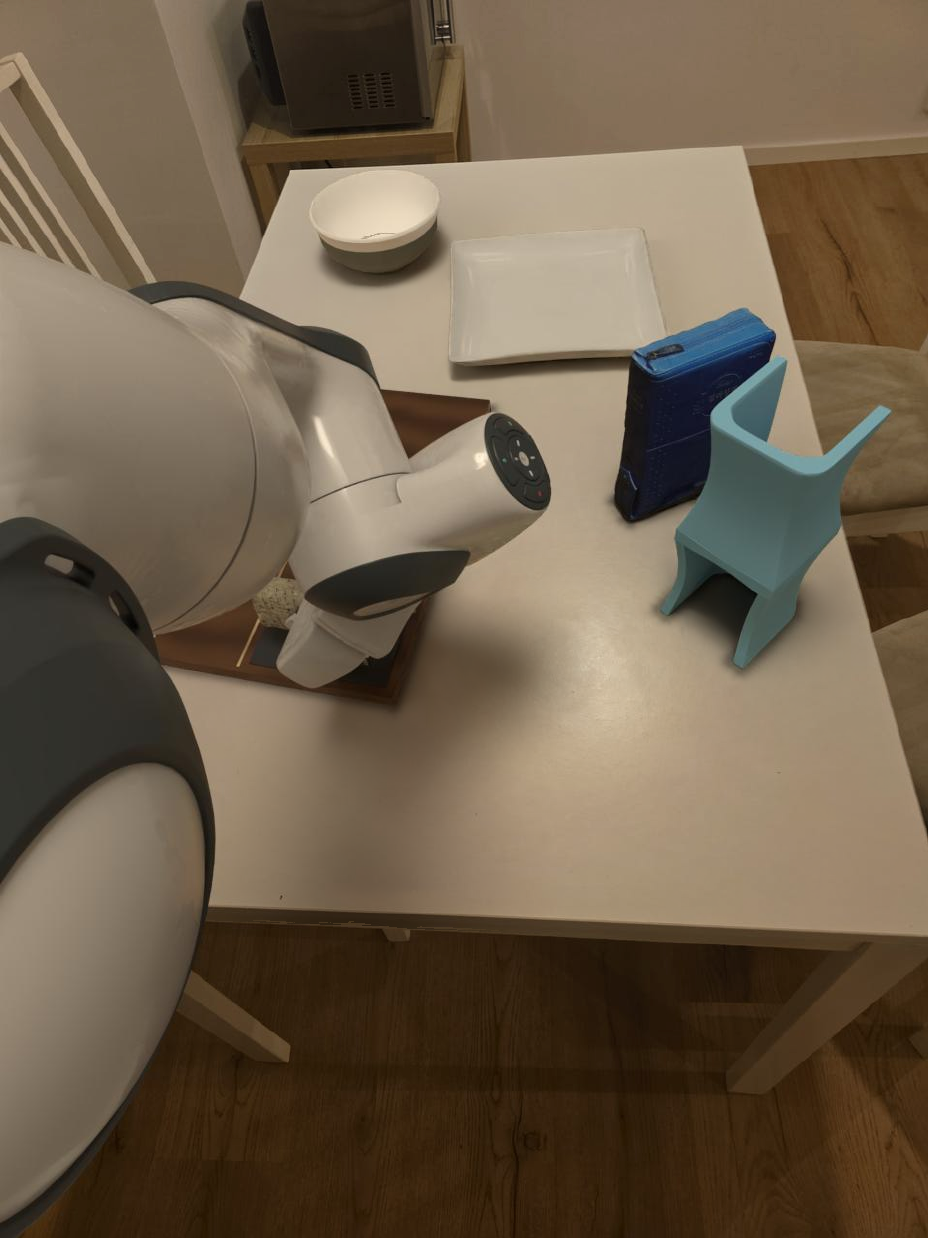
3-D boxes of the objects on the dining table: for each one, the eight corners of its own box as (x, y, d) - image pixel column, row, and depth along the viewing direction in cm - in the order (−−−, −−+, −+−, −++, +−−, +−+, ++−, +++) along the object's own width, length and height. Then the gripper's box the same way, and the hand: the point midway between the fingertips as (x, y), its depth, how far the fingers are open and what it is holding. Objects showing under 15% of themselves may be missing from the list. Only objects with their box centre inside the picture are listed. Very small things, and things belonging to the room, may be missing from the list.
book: (630, 530, 87) (650, 380, 70) (604, 498, 89) (617, 346, 73) (742, 482, 89) (787, 325, 73) (714, 452, 92) (750, 295, 76)
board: (394, 706, 77) (391, 698, 75) (151, 662, 82) (144, 653, 81) (490, 409, 99) (489, 398, 98) (294, 389, 104) (291, 378, 103)
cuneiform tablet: (370, 667, 75) (252, 647, 77) (385, 630, 77) (270, 612, 80) (357, 617, 69) (230, 598, 72) (373, 579, 72) (251, 562, 74)
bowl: (467, 234, 121) (463, 179, 115) (408, 306, 112) (400, 251, 106) (361, 213, 127) (351, 159, 120) (297, 280, 118) (282, 226, 112)
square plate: (668, 370, 100) (672, 344, 97) (449, 385, 102) (446, 359, 99) (642, 247, 116) (644, 221, 113) (452, 261, 118) (449, 236, 114)
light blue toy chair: (803, 607, 79) (894, 410, 59) (742, 669, 76) (816, 483, 55) (720, 554, 84) (778, 353, 63) (659, 610, 80) (698, 417, 60)
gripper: (393, 431, 68) (312, 497, 78) (311, 631, 57) (230, 678, 67) (450, 474, 71) (365, 533, 81) (382, 673, 60) (294, 713, 70)
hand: (303, 600), depth 74 cm, fingers closed on cuneiform tablet, 4 cm apart
